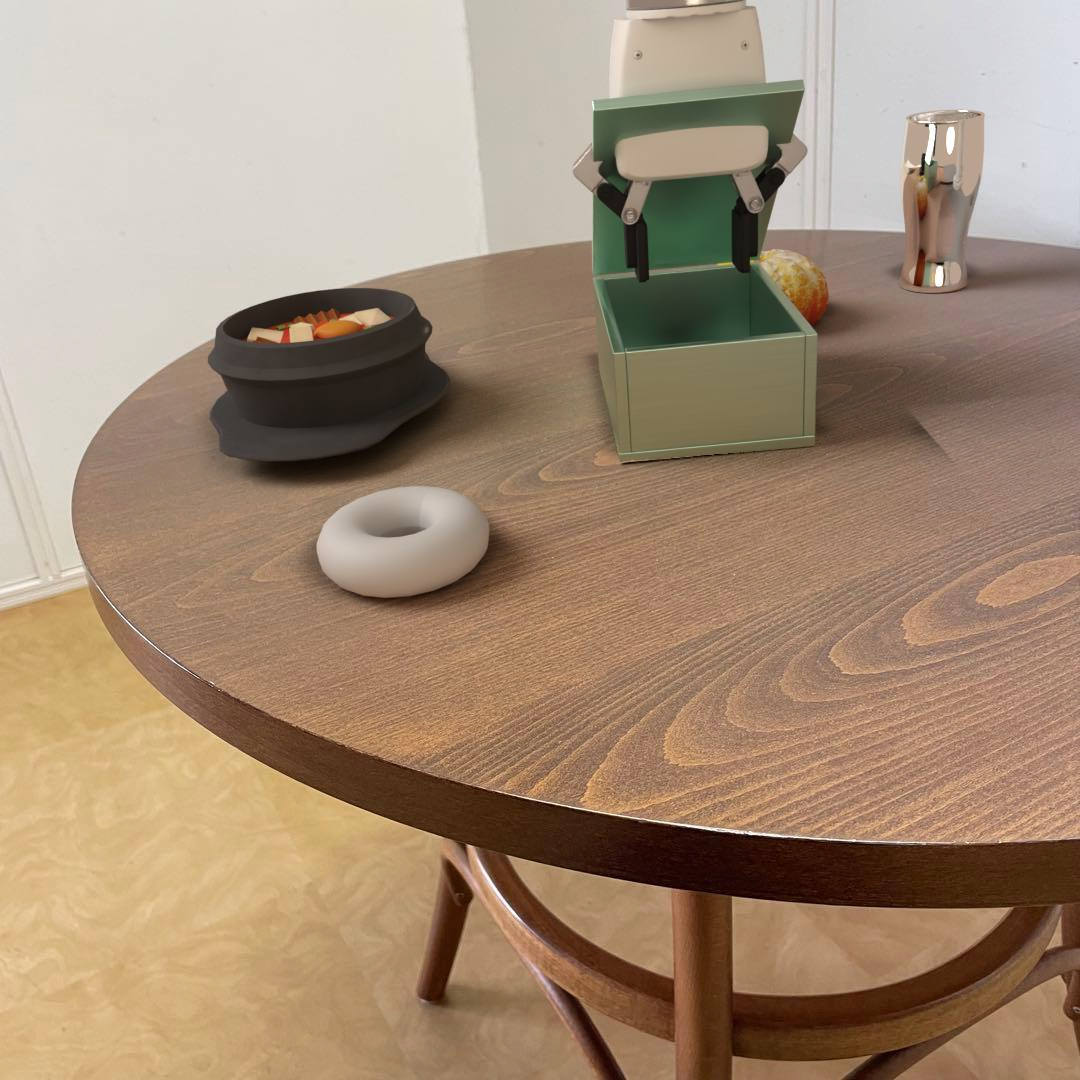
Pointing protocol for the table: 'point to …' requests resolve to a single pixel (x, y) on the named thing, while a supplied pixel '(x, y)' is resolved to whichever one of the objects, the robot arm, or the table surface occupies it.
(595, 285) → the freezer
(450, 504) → the donut
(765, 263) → the fruit
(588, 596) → the table surface
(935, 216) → the beer glass
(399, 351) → the casserole
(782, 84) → the freezer lid
